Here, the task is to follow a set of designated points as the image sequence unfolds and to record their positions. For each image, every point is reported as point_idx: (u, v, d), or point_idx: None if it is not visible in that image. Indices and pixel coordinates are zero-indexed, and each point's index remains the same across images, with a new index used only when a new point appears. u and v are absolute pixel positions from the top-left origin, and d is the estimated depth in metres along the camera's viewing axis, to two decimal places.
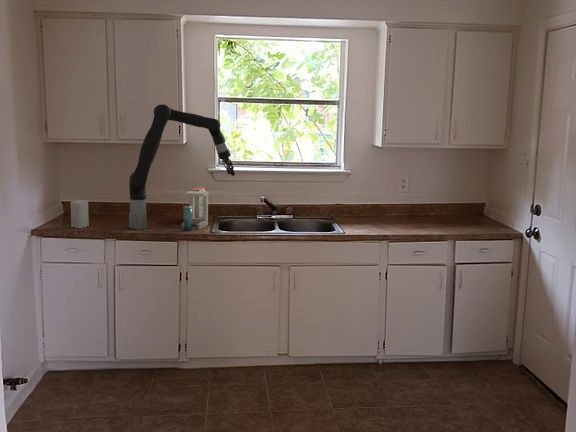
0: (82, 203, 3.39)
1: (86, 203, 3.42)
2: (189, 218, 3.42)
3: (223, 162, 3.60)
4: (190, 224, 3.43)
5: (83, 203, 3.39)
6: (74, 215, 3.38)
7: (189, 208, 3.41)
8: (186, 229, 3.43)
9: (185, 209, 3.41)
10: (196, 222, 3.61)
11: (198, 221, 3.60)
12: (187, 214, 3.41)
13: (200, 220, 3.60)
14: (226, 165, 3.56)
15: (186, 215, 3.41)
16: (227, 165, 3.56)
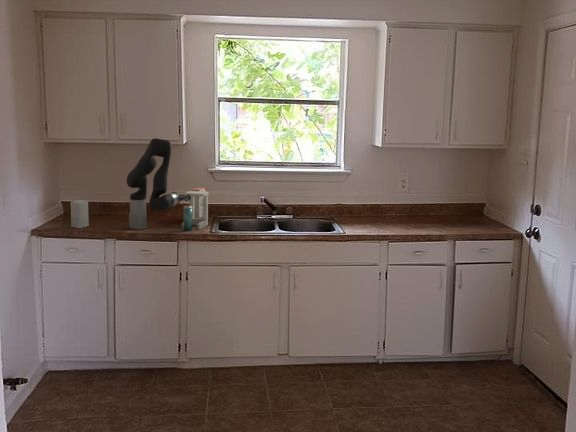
0: (82, 203, 3.39)
1: (86, 203, 3.42)
2: (189, 218, 3.42)
3: (178, 194, 3.22)
4: (190, 224, 3.43)
5: (83, 203, 3.39)
6: (74, 215, 3.38)
7: (189, 208, 3.41)
8: (186, 229, 3.43)
9: (185, 209, 3.41)
10: (196, 222, 3.61)
11: (198, 221, 3.60)
12: (187, 213, 3.41)
13: (200, 220, 3.60)
14: None
15: (186, 215, 3.41)
16: None
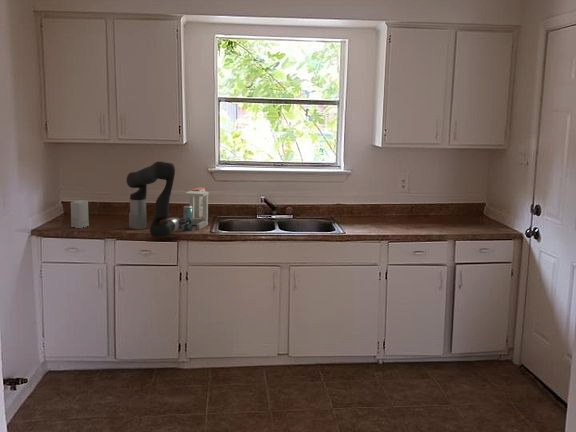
0: (82, 203, 3.39)
1: (86, 203, 3.42)
2: None
3: None
4: (190, 224, 3.43)
5: (83, 203, 3.39)
6: (74, 215, 3.38)
7: (189, 208, 3.41)
8: (186, 229, 3.43)
9: (185, 209, 3.41)
10: (196, 222, 3.61)
11: (198, 221, 3.60)
12: (187, 213, 3.41)
13: (200, 220, 3.60)
14: None
15: (186, 215, 3.41)
16: None
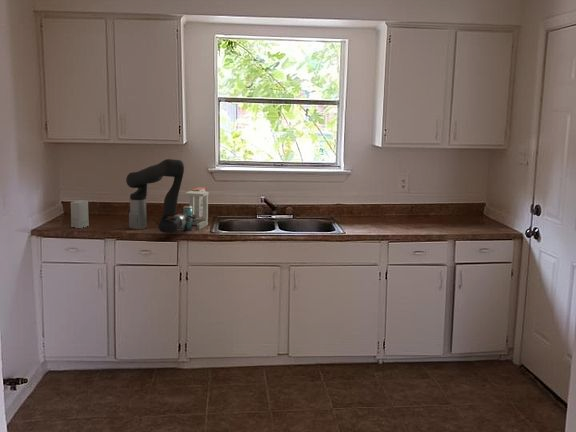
0: (82, 203, 3.39)
1: (86, 203, 3.42)
2: None
3: (186, 215, 3.37)
4: (190, 224, 3.43)
5: (83, 203, 3.39)
6: (74, 215, 3.38)
7: (189, 208, 3.41)
8: (186, 229, 3.43)
9: (185, 209, 3.41)
10: (196, 222, 3.61)
11: (198, 221, 3.60)
12: (187, 213, 3.41)
13: (200, 220, 3.60)
14: None
15: None
16: None
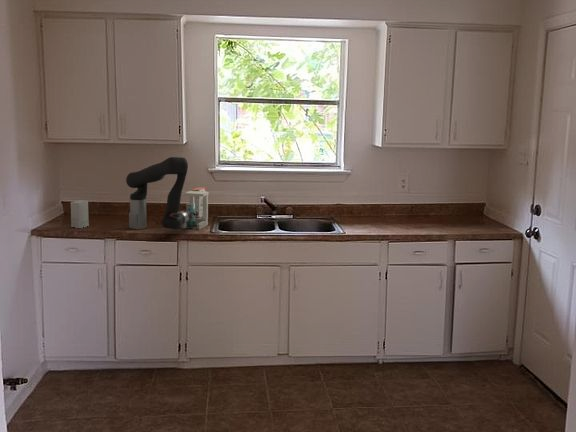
0: (82, 203, 3.39)
1: (86, 203, 3.42)
2: None
3: (189, 212, 3.41)
4: (193, 221, 3.47)
5: (83, 203, 3.39)
6: (74, 215, 3.38)
7: (192, 205, 3.45)
8: (189, 226, 3.47)
9: (188, 206, 3.45)
10: (196, 222, 3.61)
11: (198, 221, 3.60)
12: (190, 210, 3.46)
13: (200, 220, 3.60)
14: None
15: None
16: None
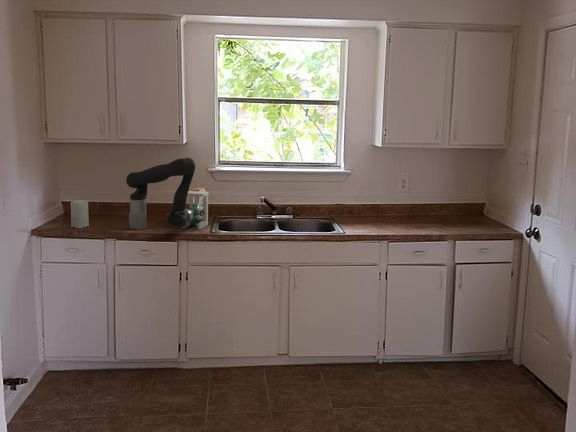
0: (82, 203, 3.39)
1: (86, 203, 3.42)
2: None
3: (193, 210, 3.49)
4: (197, 220, 3.55)
5: (83, 203, 3.39)
6: (74, 215, 3.38)
7: (196, 205, 3.53)
8: (193, 225, 3.55)
9: (192, 206, 3.53)
10: None
11: None
12: None
13: (200, 220, 3.60)
14: None
15: None
16: None
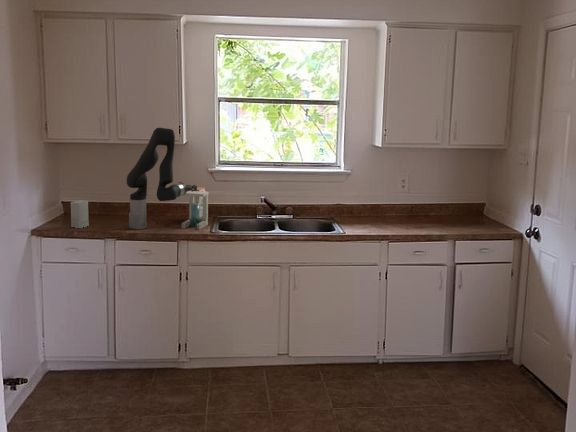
0: (82, 203, 3.39)
1: (86, 203, 3.42)
2: (196, 214, 3.54)
3: None
4: (197, 220, 3.55)
5: (83, 203, 3.39)
6: (74, 215, 3.38)
7: (196, 205, 3.53)
8: (193, 225, 3.55)
9: (192, 206, 3.53)
10: None
11: None
12: (194, 210, 3.53)
13: (200, 220, 3.60)
14: None
15: (193, 212, 3.54)
16: None
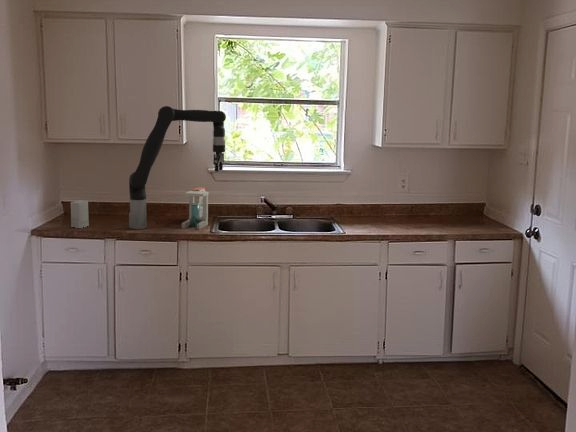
0: (82, 203, 3.39)
1: (86, 203, 3.42)
2: (196, 214, 3.54)
3: None
4: (197, 220, 3.55)
5: (83, 203, 3.39)
6: (74, 215, 3.38)
7: (196, 205, 3.53)
8: (193, 225, 3.55)
9: (192, 206, 3.53)
10: None
11: None
12: (194, 210, 3.53)
13: (200, 220, 3.60)
14: None
15: (193, 212, 3.54)
16: (215, 159, 3.52)
